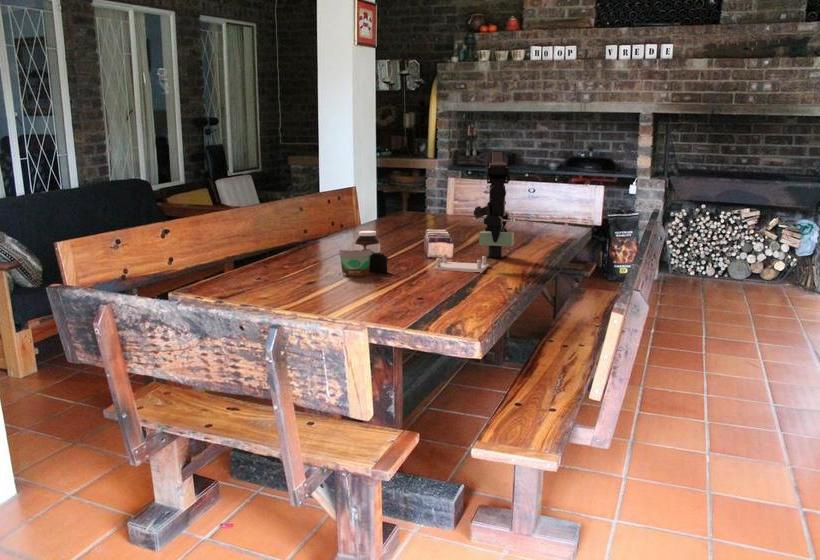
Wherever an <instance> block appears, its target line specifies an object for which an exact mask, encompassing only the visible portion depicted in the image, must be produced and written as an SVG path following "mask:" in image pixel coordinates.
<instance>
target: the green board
mask: <svg viewBox="0 0 820 560" xmlns="http://www.w3.org/2000/svg"><path fill="white" fill-rule="evenodd" d="M478 234H479V235H478V239H479V240H478V242H479V243H478V245H479V246H488V245H490V246H502V247H513V246H514V244H515V232H512V231H508V232H500V235H499V238H498V240H497V242H493V237H492V233H491V232H489V231H485V230H484V231H480V232H479V233H478Z"/></svg>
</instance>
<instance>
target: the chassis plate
mask: <svg viewBox="0 0 820 560" xmlns="http://www.w3.org/2000/svg"><path fill="white" fill-rule="evenodd" d="M441 256H442V258H440V257H437V258H435V259H436V262H435V263H436V265H435V266H434V267H433V269H434V270H436V271H437V270H438V271H439V270H440V271H448V272H449V271H452V272H463V273H473V272H480V273H479V274H483V272H484V271H485V270H486V269H487V268H488V267H489V263H487V258H486V256H487V255H486V256H485V255H482V257H481V259H477V260H476V263H475V262H454V261H453V262H452V261H447V258H448V257H447V256H448V255H447V254H442V255H441ZM441 260H442V262H441Z"/></svg>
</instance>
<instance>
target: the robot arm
mask: <svg viewBox="0 0 820 560" xmlns="http://www.w3.org/2000/svg"><path fill="white" fill-rule="evenodd" d="M485 170H486V184H487V185H488V184H490V185H489V186H488V187H489V189H488V190H489V191H488V192H489V195H488V196H489V197H488V198H489V199H488V202H487V204H486V206H482V207H481V206H480V205H479V206H477V207H475V208H474V210H473V216H475V219H476V220H477V219H479V218H482V217H483V216H485V217H484V218H483V225H486V227H484V231H489V232H491V233H492V237H493V242H497V240H498V238H499V235H500V232H509V231H508V230H507V226H506V225H507V223H508V220H510V213H509V212H508V211H506V204H507V201H506V195H507V190H506V186H505V185H506V184H509V182H510V181H511V170H510V169H509V167H508V156H507V155H506V154H505V153H504V150H502V149H497V150H496V149H492V150H490V153H489V154H487V156H485ZM504 257H505V254H503V246H490V245H487V255H486V259H503V258H504Z"/></svg>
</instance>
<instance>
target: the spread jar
mask: <svg viewBox="0 0 820 560" xmlns="http://www.w3.org/2000/svg"><path fill="white" fill-rule="evenodd" d="M354 243H355V244H354V245H353V246H352V247H351V248H350V250H349V251H352V250H361V251H362V250H363V249H364V250H365V249H370V248H371V250H372V252H374V253H379V252H380V253H381V242H380V239H379V238H378V237H377V231H375V230H359V231H358V237H357V238H356V240H355V242H354Z"/></svg>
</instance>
